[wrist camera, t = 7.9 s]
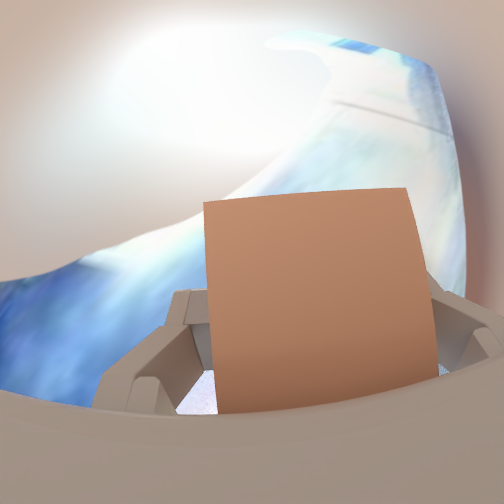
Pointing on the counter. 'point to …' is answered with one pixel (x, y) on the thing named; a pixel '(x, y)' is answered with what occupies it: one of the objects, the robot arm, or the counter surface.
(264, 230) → the tall block
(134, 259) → the counter surface
